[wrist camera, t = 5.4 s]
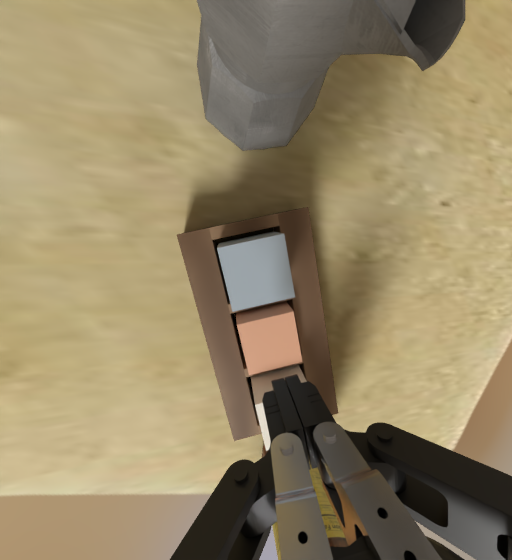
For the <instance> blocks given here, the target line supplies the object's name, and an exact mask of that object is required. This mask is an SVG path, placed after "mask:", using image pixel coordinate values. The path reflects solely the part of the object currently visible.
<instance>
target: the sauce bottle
mask: <svg viewBox="0 0 512 560" xmlns="http://www.w3.org/2000/svg"><path fill="white" fill-rule="evenodd" d="M267 452H268V450H267V451H266V448H265V444H264V445H263V449H262V458H263V457H264V456H265V455H266V453H267ZM309 463H310V462H309ZM310 468H311V470H309V472H310V476H311V479H312V483H313V487H314V490H315V492H316V495H317V499H318V503H319V507H320V511H321V514H322V518H323V522H324V526H325V530H326V533H327V537H328V541H329V545H330V546H334V547H347V546H348V544H347V541H346V538H345V535H344V533H343V531H342V528H341V526H340V524H339V522H338V520H337V517H336V515H335V513H334V511H333V508H332V506H331V504H330V502H329V499H328V497H327V495H326V493H325V491H324V488H323V486H322V481H321V476H320V473H319V470H318V468H314V469H312V467H311V464H310ZM272 526H273V531H274V537H275V543H276V549H277V555H278V560H281V552H280V543H279V534H278V525H277V522H275V523H274V524H273V525H272Z"/></svg>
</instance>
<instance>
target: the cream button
mask: <svg viewBox="0 0 512 560" xmlns="http://www.w3.org/2000/svg"><path fill="white" fill-rule="evenodd" d="M295 374H297V375H298V377H299V379H300V381H301V383H303V382H307V381H306V379H305V377H304V375H303V373H302V371H301V369H300V367H299V365H294V366H290V367H286V368H282V369H278V370H274V371H270V372H266V373H262V374H258V375H254V376H251V382H252V389H253V395H254V402H255V407H256V411H257V415H258V419H259V423H260V428H261V432H262V436H263V440H264V444H265V448H266V451H267V450H269V448H270V442H271V441H270V436H269V431H268V426H267V421H266V416H265V412H264V407H263V402H262V399H263V396H264V393H265V392H269V391H273V387H272V383H271V381H272V380H276V379H280V378H284V377H287V376H291V375H295ZM284 380H285V378H284Z"/></svg>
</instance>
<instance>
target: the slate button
mask: <svg viewBox="0 0 512 560" xmlns="http://www.w3.org/2000/svg"><path fill="white" fill-rule="evenodd" d="M217 250H218V254H219V258H220V262H221V266H222V271H223V275H224V279H225V283H226V287H227V291H228V295H229V299H230V304H231V308H232V312H234V311H238V310H243V309H247V308H251V307H256V306H260V305H264V304H268V303H273V302H277V301H281V300H286V299H290V298H294V297H295V293H294V288H293V282H292V276H291V270H290V264H289V259H288V253H287V247H286V241H285V235H284V233H279V232H268V233H263V234H259V235H254V236H249V237H245V238H240V239H235V240H231V241H226V242H222V243H219V244H218V247H217Z"/></svg>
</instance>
